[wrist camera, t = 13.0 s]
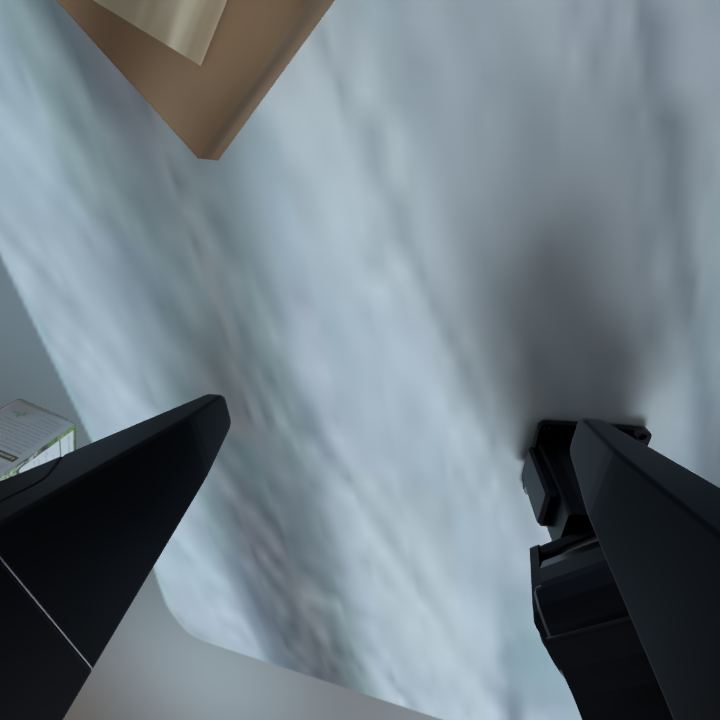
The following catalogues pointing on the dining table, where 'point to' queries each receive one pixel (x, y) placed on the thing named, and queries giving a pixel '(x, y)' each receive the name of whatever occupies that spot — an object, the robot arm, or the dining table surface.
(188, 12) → the maple block
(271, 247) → the dining table surface
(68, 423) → the syrup box
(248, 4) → the walnut block
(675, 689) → the robot arm
